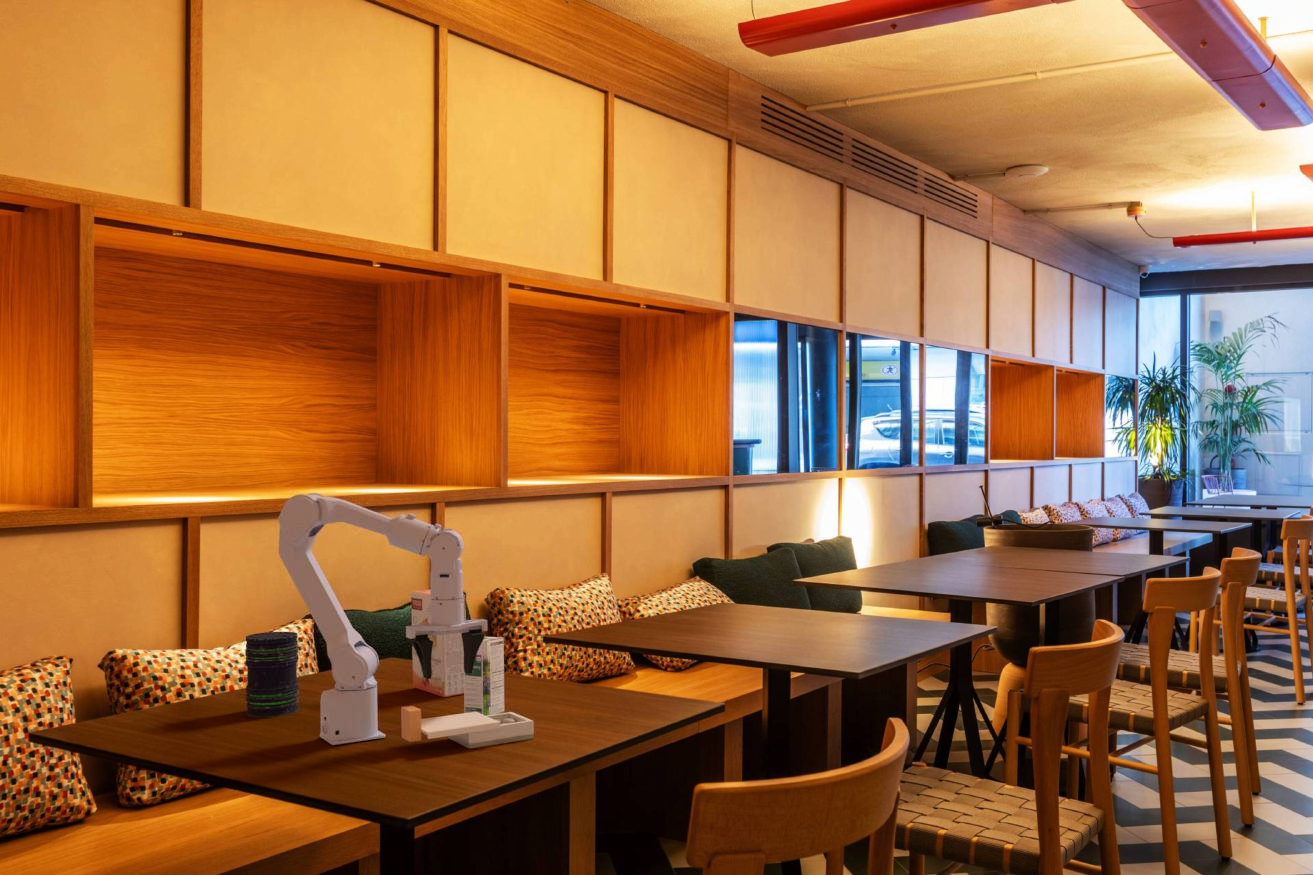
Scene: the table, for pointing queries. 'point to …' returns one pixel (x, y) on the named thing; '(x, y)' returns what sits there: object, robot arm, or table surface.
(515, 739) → the tub
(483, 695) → the syrup box
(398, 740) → the table surface
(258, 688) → the storage jar
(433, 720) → the lid
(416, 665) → the cracker box
